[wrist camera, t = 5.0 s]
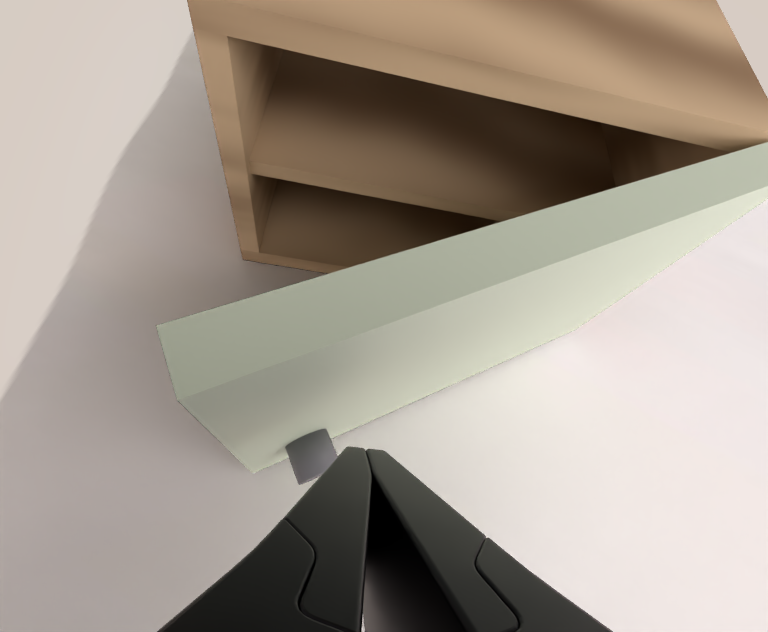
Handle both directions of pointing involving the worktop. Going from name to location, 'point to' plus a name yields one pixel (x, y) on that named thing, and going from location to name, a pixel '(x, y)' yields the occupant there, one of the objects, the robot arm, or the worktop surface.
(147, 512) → the worktop surface
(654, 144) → the cabinet
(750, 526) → the worktop surface
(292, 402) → the door
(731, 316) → the worktop surface
